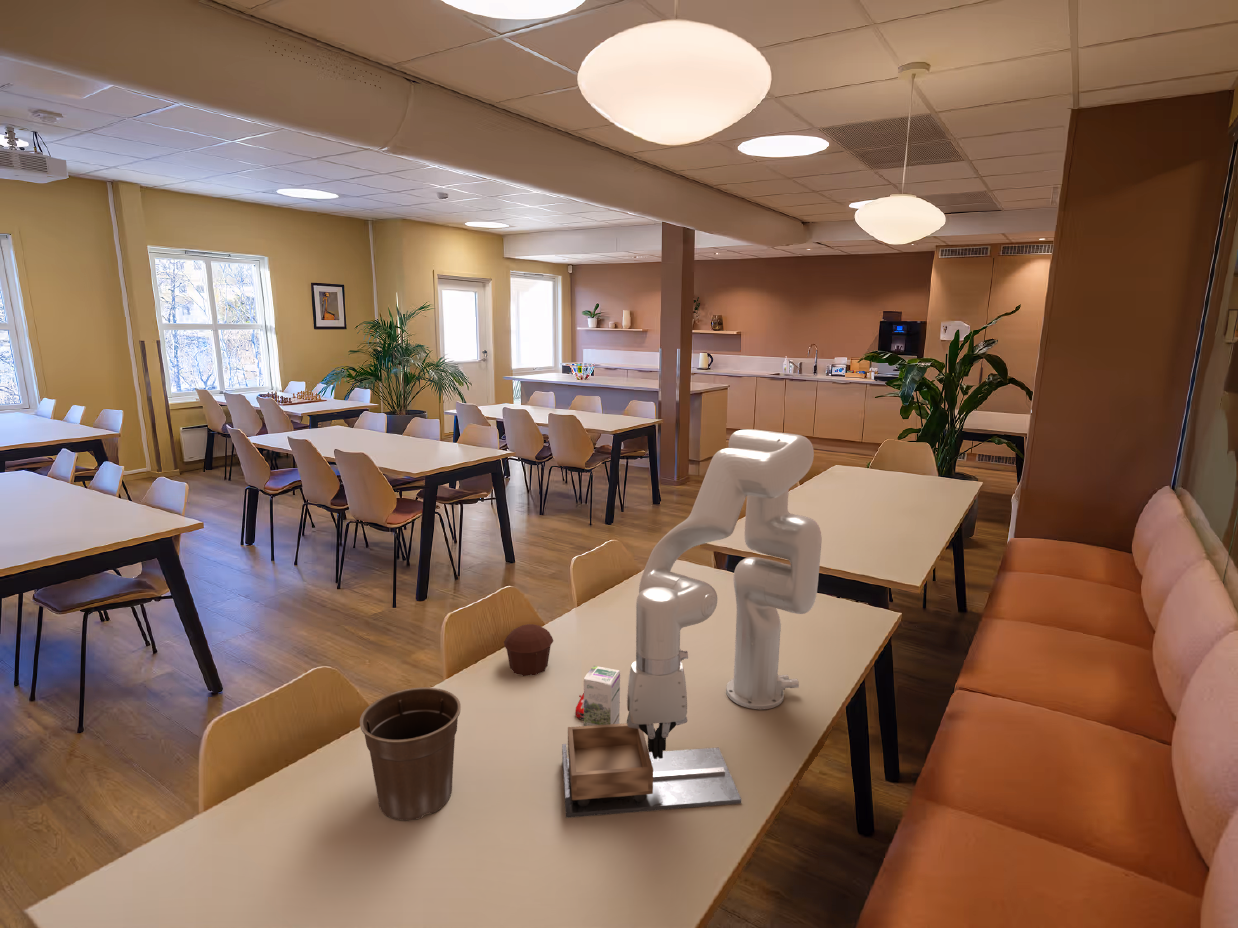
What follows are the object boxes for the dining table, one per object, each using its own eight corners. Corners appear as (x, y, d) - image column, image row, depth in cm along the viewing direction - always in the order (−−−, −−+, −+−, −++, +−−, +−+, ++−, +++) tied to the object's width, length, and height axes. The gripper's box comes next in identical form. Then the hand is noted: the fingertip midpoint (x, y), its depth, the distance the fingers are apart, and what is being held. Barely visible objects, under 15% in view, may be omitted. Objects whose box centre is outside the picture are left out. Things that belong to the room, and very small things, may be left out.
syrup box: (620, 735, 131) (621, 668, 128) (610, 752, 126) (610, 683, 123) (593, 729, 133) (593, 663, 130) (582, 746, 128) (582, 678, 125)
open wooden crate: (640, 753, 124) (640, 722, 123) (652, 804, 111) (653, 769, 110) (568, 758, 122) (567, 726, 121) (571, 810, 109) (571, 775, 108)
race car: (597, 725, 135) (597, 708, 134) (571, 721, 136) (571, 704, 136) (613, 692, 148) (613, 675, 147) (590, 688, 149) (590, 672, 148)
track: (718, 751, 127) (719, 733, 126) (741, 803, 113) (742, 783, 112) (562, 762, 123) (562, 743, 122) (565, 817, 109) (565, 797, 108)
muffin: (513, 683, 150) (511, 642, 148) (498, 661, 160) (497, 623, 158) (561, 671, 156) (560, 632, 154) (544, 651, 165) (543, 614, 163)
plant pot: (387, 764, 122) (382, 684, 119) (474, 766, 121) (471, 687, 118) (349, 829, 106) (342, 739, 103) (449, 832, 106) (444, 742, 102)
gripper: (694, 646, 118) (692, 737, 121) (612, 651, 116) (612, 744, 119) (705, 667, 110) (703, 763, 114) (617, 673, 108) (617, 771, 112)
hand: (656, 753), depth 117 cm, fingers closed
